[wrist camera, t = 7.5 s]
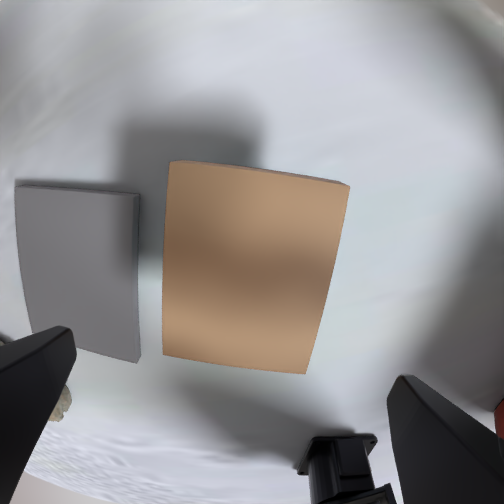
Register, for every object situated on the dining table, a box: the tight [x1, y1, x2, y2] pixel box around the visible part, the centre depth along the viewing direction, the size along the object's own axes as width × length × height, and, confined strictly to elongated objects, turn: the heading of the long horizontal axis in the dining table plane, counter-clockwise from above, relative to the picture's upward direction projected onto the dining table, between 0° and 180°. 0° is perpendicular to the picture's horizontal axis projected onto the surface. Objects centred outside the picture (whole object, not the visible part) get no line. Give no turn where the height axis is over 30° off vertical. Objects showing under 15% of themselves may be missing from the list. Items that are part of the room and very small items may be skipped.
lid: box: [162, 160, 350, 374], centre depth 14 cm, size 9×7×2 cm
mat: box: [15, 185, 141, 364], centre depth 19 cm, size 12×10×1 cm
